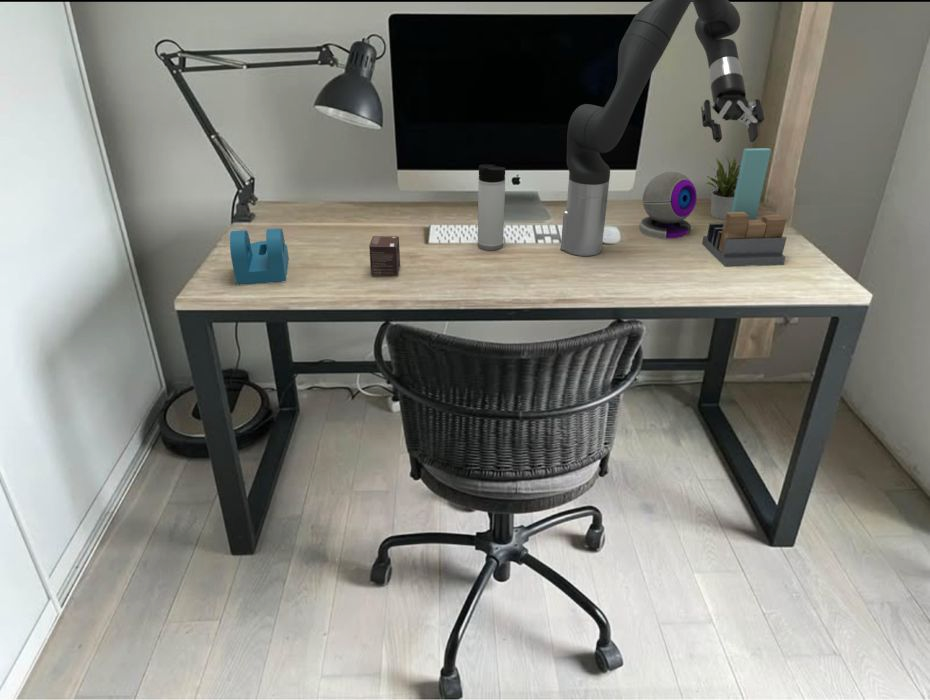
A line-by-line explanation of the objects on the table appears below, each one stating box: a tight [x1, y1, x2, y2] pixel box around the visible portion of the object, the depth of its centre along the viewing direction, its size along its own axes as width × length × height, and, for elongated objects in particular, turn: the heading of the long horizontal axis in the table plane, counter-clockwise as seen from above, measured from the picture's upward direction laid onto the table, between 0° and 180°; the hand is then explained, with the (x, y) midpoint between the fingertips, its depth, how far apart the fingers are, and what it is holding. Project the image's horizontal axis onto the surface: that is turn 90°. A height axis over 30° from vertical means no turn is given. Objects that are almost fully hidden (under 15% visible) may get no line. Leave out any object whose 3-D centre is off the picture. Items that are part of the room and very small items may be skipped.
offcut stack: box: [719, 212, 787, 253], centre depth 158 cm, size 3×13×9 cm, turn 94°
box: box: [368, 235, 401, 277], centre depth 153 cm, size 6×6×7 cm
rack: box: [701, 222, 787, 267], centre depth 163 cm, size 14×14×6 cm
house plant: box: [705, 154, 741, 220], centre depth 183 cm, size 14×14×16 cm
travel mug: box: [477, 163, 506, 251], centre depth 163 cm, size 6×7×20 cm
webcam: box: [638, 171, 698, 240], centre depth 174 cm, size 13×13×15 cm
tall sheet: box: [731, 147, 772, 220], centre depth 160 cm, size 2×6×22 cm, turn 94°
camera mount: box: [229, 227, 290, 286], centre depth 155 cm, size 18×10×10 cm, turn 10°
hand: (736, 140), depth 165 cm, fingers open, 8 cm apart
